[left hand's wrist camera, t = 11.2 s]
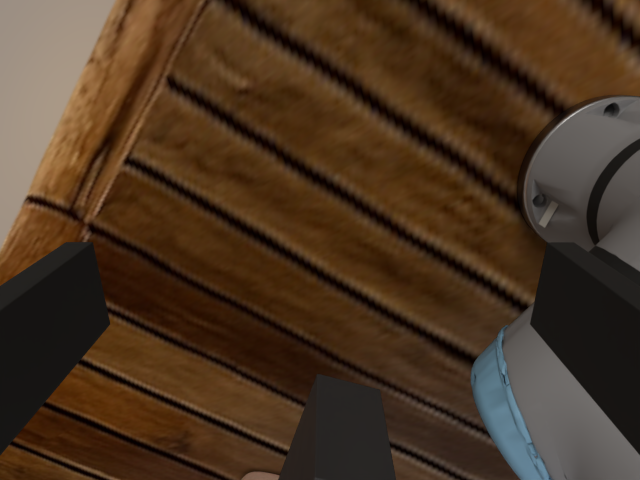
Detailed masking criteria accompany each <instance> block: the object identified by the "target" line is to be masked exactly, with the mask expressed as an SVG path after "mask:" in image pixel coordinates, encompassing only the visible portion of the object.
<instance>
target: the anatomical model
mask: <svg viewBox="0 0 640 480" xmlns="http://www.w3.org/2000/svg"><path fill="white" fill-rule="evenodd" d="M279 476H280V475H276V474H271V473H266V472H250V473H248V474H246V475H245V476H244V477H243V478H242V479H241V480H278V479H279Z"/></svg>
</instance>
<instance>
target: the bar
mask: <svg viewBox="0 0 640 480" xmlns="http://www.w3.org/2000/svg"><path fill="white" fill-rule="evenodd" d="M278 480H396V477H395V472H394V466H393V461H392V455H391V449H390V444H389V438H388V433H387V427H386V422H385V416H384V410H383V405H382V399H381V394H380V390H379V389H375V388H371V387H367V386H363V385H359V384H355V383H352V382H348V381H344V380H340V379H336V378H332V377H328V376H324V375H320V374H317V376H316V379H315V381H314V384H313V387H312V389H311V392H310V395H309V398H308V400H307V403H306V406H305V408H304V411H303V414H302V416H301V419H300V422H299V425H298V427H297V430H296V433H295V435H294V438H293V441H292V444H291V446H290V449H289V452H288V454H287V457H286V460H285V462H284V465H283V468H282V471H281V473H280V476H279V479H278Z"/></svg>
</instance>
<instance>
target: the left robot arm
mask: <svg viewBox="0 0 640 480" xmlns="http://www.w3.org/2000/svg"><path fill="white" fill-rule="evenodd" d="M517 190H518V201H519V206H520V210H521V212H522V215H523V217H524V219H525V221H526V222H527V224H528V225H529V227H530V228H531V229H532V230H533V231H534V232H535V233H536V234H537V235H538V236H540V237H541V238H542V239H544V240H545V241H546V242H547V246H546V251H545V256H544V260H543V265H542V270H541V274H540V279H539V284H538V288H537V293H536V298H535V302H534V303H533V304H532V305H531V306H530V307H528V308H527V309H526V310H525V311H524V312H523V313H522V314H521V315H520V316H519V317H518V318H517V319H516V320H515V321H513V322H512V323H511V324H510V325H509V326H508V325H506V326H504V327H503V328H502V329H501V330H500V331H499V333H498V337H497V338H496V339H495V340H494V341H493V342H492V343H491V344H490V345H489V346H488V347H487V348H486V349H485V350H484V351H483V352H482V353H481V355H480V356H479V357H478V358H477V359H476V361H475V362H474V364H473V367H472V370H471V386H472V390H473V391H472V392H473V397H474V401H475V404H476V407H477V409H478V412H479V414H480V416H481V419H482V421H483V423H484V425H485V427H486V429H487V431H488V433H489V434H490V436H491V438H492V440H493V441H494V443H495V445H496V446H497V448H498V449H499V451H500V452H501V454H502V455H503V457H504V458H505V460H506V461H507V463H508V464H509V466H510V467H511V468H512V470H513V471H514V472H515V474H516V475H517V476H518V477H519V478H520V480H640V97H638V96H626V95H608V96H601V97H596V98H593V99H589V100H586V101H584V102H581V103H579V104H577V105H575V106H573V107H571V108H569V109H567V110H566V111H564V112H563V113H561V114H560V115H559V116H557V117H556V118H555V119H554V120H552V121H551V122H550V123H549V124H548V125H547V126H546V127H545V128H544V129H543V130H542V131H541V132H540V134H539V135H538V136H537V137H536V139H535V140H534V142H533V143H532V145H531V146H530V148H529V150H528V152H527V154H526V156H525V158H524V160H523V163H522V166H521V169H520V173H519V178H518V189H517ZM109 325H110V321H109V316H108V312H107V307H106V302H105V298H104V293H103V288H102V284H101V279H100V274H99V270H98V265H97V260H96V256H95V251H94V246H93V242H66V243H64V244H63V245H61V246H60V247H58V248H57V249H55V250H54V251H52V252H51V253H49V254H48V255H46V256H45V257H43V258H42V259H40V260H39V261H37V262H36V263H34V264H33V265H31V266H30V267H28V268H27V269H25V270H24V271H22V272H21V273H19V274H18V275H16V276H15V277H13V278H12V279H10V280H9V281H7V282H6V283H4V284H3V285H1V286H0V455H1V454H2V453H3V451H4V450H5V449H6V448H7V447H8V445H9V444H10V443H11V442H12V441H13V439H14V438H15V437H16V436H17V435H18V433H19V432H20V431H21V430H22V429H23V428H24V426H25V425H26V424H27V423H28V422H29V420H30V419H31V418H32V417H33V416H34V414H35V413H36V412H37V411H38V410H39V408H40V407H41V406H42V405H43V404H44V402H45V401H46V400H47V399H48V398H49V397H50V395H51V394H52V393H53V392H54V391H55V389H56V388H57V387H58V386H59V385H60V383H61V382H62V381H63V380H64V379H65V377H66V376H67V375H68V374H69V373H70V371H71V370H72V369H73V368H74V367H75V365H76V364H77V363H78V362H79V361H80V360H81V358H82V357H83V356H84V355H85V354H86V352H87V351H88V350H89V349H90V348H91V346H92V345H93V344H94V343H95V342H96V340H97V339H98V338H99V337H100V336H101V334H102V333H103V332H104V331H105V330H106V329H107V327H108V326H109Z"/></svg>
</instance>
